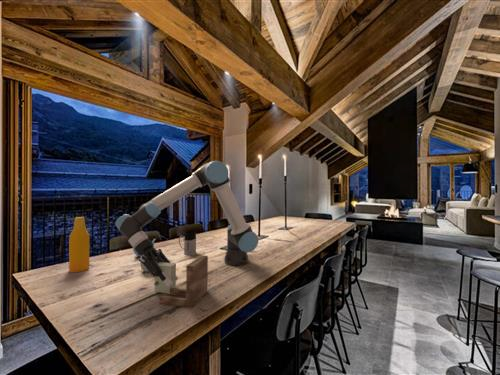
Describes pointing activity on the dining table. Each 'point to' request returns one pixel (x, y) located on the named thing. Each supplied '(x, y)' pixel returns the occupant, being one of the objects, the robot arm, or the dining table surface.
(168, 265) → the block
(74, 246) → the beer bottle
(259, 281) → the dining table surface
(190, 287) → the wooden stand
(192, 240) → the glass holder
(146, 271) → the teacup
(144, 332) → the dining table surface
